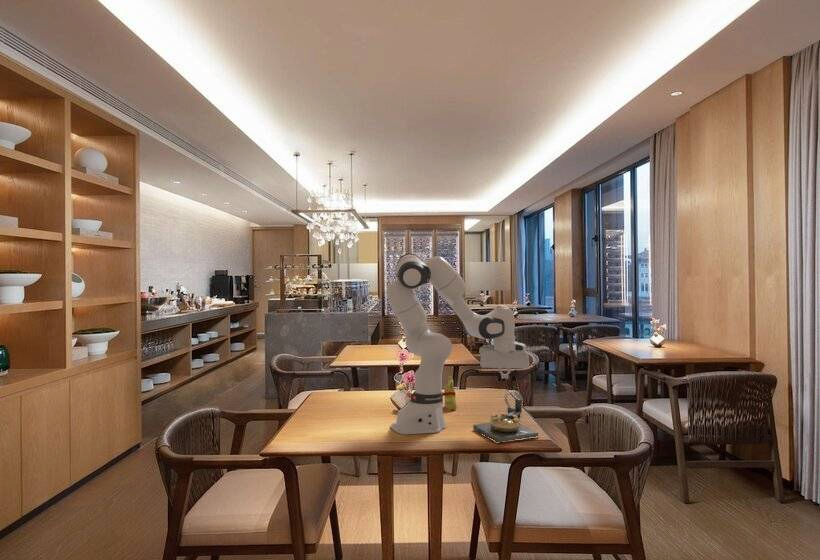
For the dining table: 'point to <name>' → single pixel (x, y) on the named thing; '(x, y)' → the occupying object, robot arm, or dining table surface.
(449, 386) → the chocolate bunny
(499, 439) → the plate
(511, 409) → the watch
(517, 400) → the ball knob lever
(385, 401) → the dining table surface
